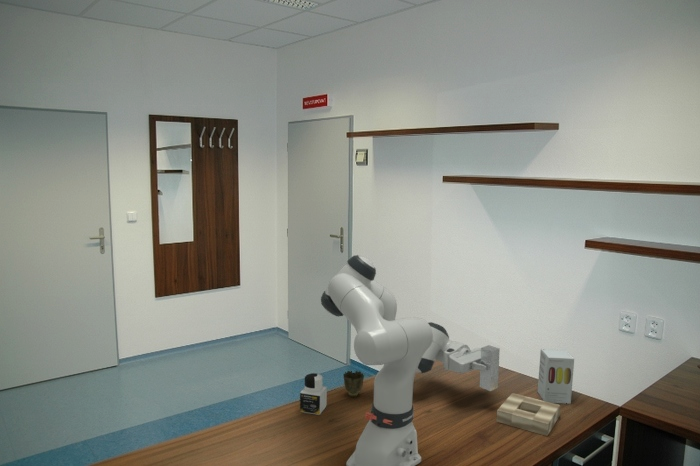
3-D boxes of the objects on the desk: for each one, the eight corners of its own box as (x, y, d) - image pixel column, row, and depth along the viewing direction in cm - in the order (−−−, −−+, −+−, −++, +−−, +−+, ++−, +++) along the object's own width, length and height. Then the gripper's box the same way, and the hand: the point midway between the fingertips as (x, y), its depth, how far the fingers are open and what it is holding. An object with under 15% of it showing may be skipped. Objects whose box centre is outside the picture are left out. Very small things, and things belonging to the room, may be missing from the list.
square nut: (547, 436, 163) (548, 424, 162) (496, 421, 172) (497, 410, 171) (559, 416, 176) (560, 405, 175) (511, 403, 185) (512, 392, 184)
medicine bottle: (299, 412, 176) (299, 378, 175) (307, 403, 183) (307, 370, 181) (319, 415, 174) (319, 380, 173) (326, 406, 181) (327, 372, 179)
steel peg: (490, 391, 178) (492, 351, 176) (479, 387, 181) (481, 347, 179) (497, 387, 180) (499, 348, 179) (487, 383, 184) (488, 345, 182)
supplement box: (544, 402, 186) (547, 357, 184) (536, 391, 195) (539, 348, 193) (571, 404, 185) (575, 358, 183) (563, 392, 194) (566, 349, 192)
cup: (364, 391, 193) (364, 370, 192) (362, 400, 186) (363, 378, 185) (344, 390, 194) (344, 369, 193) (342, 399, 186) (342, 377, 185)
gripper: (476, 357, 197) (508, 368, 186) (440, 370, 183) (473, 382, 173) (477, 341, 196) (509, 351, 185) (441, 352, 183) (474, 364, 172)
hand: (491, 366), depth 179 cm, fingers closed on steel peg, 4 cm apart
